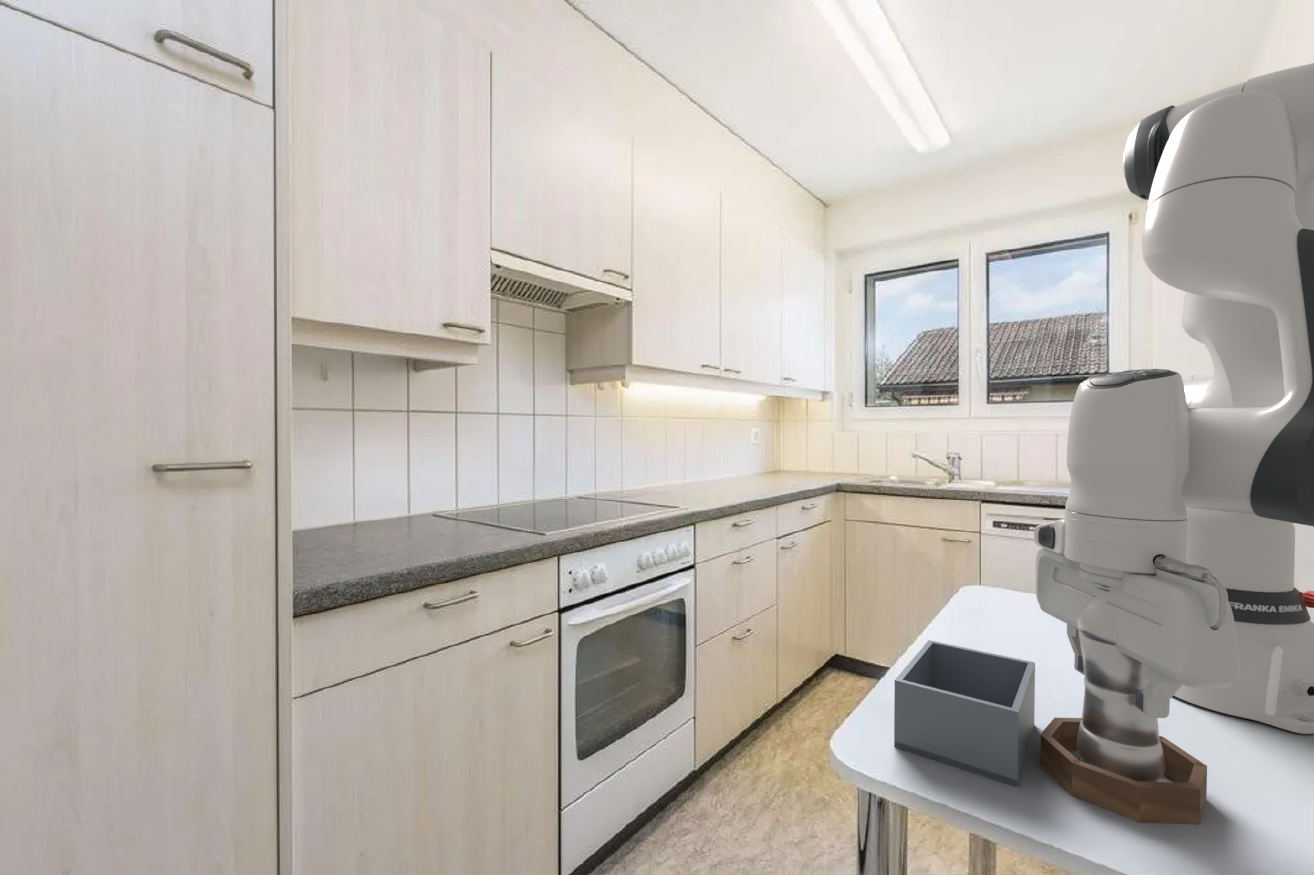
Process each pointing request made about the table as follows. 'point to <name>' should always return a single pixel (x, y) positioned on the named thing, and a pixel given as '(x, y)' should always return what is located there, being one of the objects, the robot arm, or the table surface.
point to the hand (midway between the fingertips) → (1117, 692)
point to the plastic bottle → (1114, 702)
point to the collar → (1126, 780)
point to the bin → (966, 709)
